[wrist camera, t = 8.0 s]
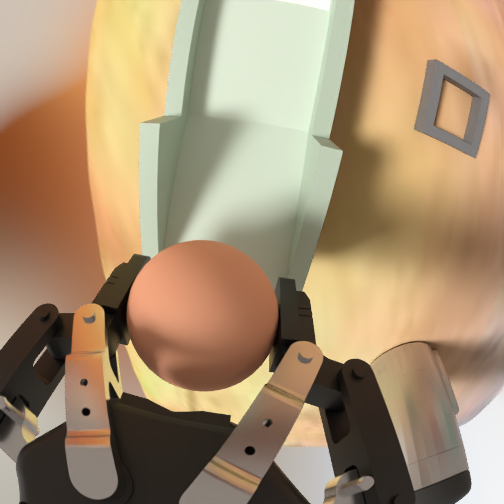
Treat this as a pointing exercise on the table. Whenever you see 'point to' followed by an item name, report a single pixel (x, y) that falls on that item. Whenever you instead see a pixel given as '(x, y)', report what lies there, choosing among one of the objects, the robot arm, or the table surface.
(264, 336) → the ball
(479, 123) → the grey picture frame
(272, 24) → the lane
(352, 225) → the table surface
